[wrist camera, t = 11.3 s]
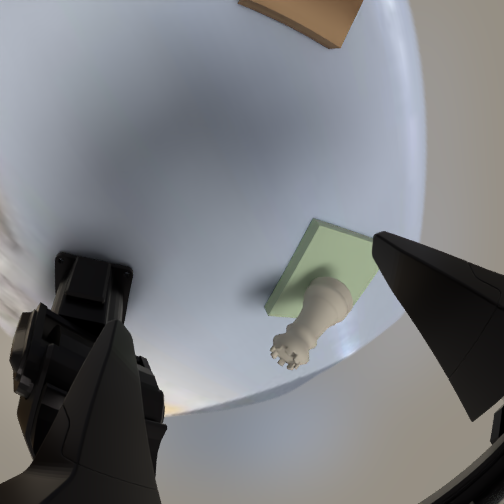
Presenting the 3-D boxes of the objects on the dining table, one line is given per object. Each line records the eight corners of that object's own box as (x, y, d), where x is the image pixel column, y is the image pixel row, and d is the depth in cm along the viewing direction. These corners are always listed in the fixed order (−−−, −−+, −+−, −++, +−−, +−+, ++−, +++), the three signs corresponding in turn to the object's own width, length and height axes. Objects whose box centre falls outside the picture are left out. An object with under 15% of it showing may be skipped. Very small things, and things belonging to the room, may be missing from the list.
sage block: (334, 308, 33) (342, 320, 31) (261, 301, 28) (268, 315, 27) (380, 238, 28) (391, 249, 27) (309, 214, 24) (319, 225, 22)
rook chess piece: (352, 276, 22) (302, 347, 18) (357, 316, 24) (314, 384, 19) (306, 270, 25) (252, 330, 21) (316, 308, 27) (268, 367, 22)
